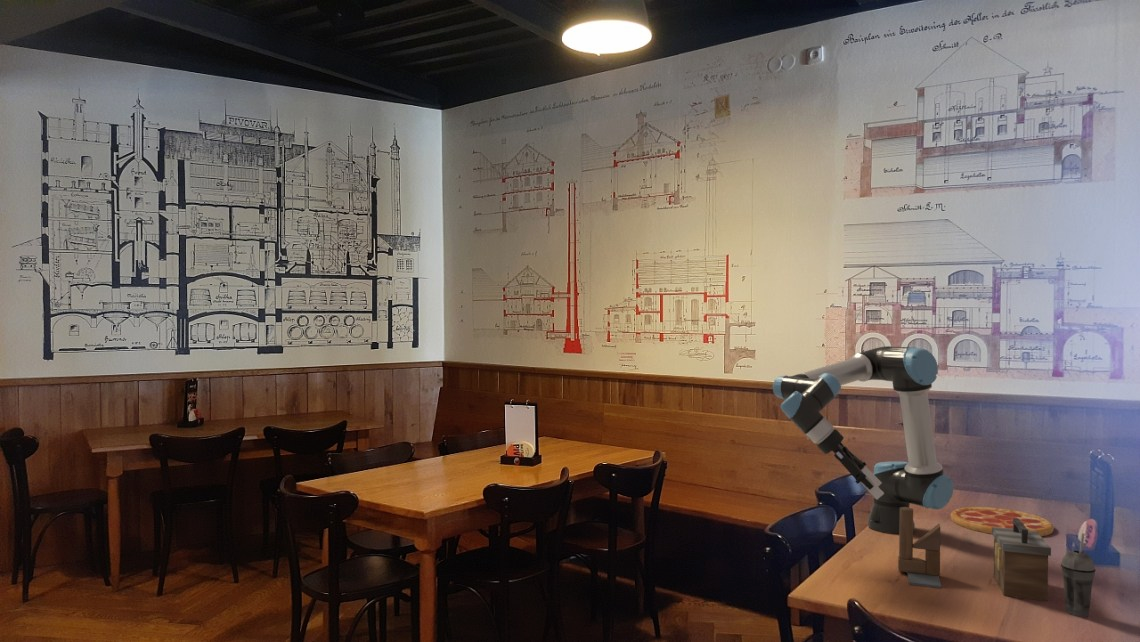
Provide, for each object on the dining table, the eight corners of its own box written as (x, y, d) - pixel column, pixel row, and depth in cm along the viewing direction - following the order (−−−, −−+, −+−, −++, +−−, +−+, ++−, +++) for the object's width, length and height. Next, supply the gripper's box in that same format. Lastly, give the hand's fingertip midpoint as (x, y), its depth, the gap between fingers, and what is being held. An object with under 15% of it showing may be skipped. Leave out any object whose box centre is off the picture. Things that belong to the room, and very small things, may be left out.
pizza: (1074, 539, 257) (1074, 531, 257) (978, 537, 258) (978, 529, 258) (1020, 514, 289) (1020, 507, 289) (934, 513, 290) (935, 505, 290)
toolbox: (991, 575, 219) (992, 514, 219) (1035, 580, 215) (1036, 518, 215) (1002, 596, 203) (1003, 529, 203) (1050, 601, 199) (1051, 534, 199)
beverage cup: (1053, 608, 195) (1054, 529, 195) (1080, 607, 196) (1081, 529, 195) (1074, 619, 188) (1075, 538, 187) (1102, 618, 188) (1103, 537, 188)
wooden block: (939, 576, 216) (940, 513, 216) (898, 571, 220) (899, 509, 220) (938, 572, 219) (939, 509, 219) (898, 567, 223) (898, 506, 223)
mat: (905, 566, 226) (905, 564, 226) (935, 570, 224) (935, 567, 224) (909, 584, 211) (909, 582, 211) (941, 588, 208) (941, 586, 208)
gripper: (816, 438, 240) (868, 489, 235) (814, 452, 216) (871, 509, 212) (834, 422, 238) (886, 473, 233) (834, 434, 214) (892, 492, 210)
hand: (879, 491), depth 222 cm, fingers open, 13 cm apart
